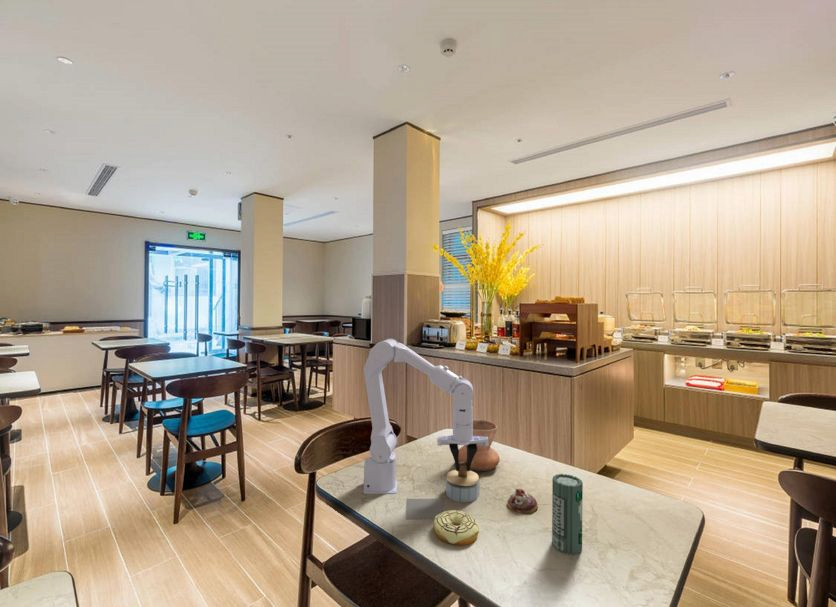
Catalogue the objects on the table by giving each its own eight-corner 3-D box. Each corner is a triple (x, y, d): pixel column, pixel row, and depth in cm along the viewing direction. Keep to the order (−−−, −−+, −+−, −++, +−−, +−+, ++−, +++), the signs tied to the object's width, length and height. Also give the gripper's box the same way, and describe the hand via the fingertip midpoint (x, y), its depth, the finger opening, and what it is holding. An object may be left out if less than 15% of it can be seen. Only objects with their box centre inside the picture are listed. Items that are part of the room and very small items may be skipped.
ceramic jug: (489, 481, 119) (490, 435, 119) (447, 469, 126) (448, 426, 126) (507, 461, 134) (508, 421, 134) (468, 452, 141) (469, 414, 142)
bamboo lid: (447, 485, 106) (447, 468, 106) (446, 472, 114) (446, 457, 115) (480, 486, 105) (480, 470, 105) (477, 473, 114) (477, 458, 114)
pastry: (505, 510, 102) (505, 492, 102) (509, 497, 109) (509, 480, 109) (536, 517, 99) (536, 498, 99) (538, 503, 106) (538, 485, 106)
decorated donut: (453, 555, 84) (453, 538, 84) (425, 531, 93) (425, 515, 93) (487, 538, 90) (487, 522, 90) (457, 517, 99) (457, 502, 99)
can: (587, 551, 85) (587, 484, 85) (564, 556, 84) (564, 488, 83) (569, 535, 91) (569, 472, 91) (547, 539, 89) (547, 475, 89)
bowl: (447, 503, 105) (447, 488, 105) (444, 486, 115) (444, 473, 115) (481, 503, 105) (481, 488, 105) (476, 486, 115) (476, 473, 115)
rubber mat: (405, 520, 97) (405, 519, 97) (406, 500, 107) (406, 498, 107) (445, 520, 97) (445, 518, 97) (442, 500, 107) (442, 498, 107)
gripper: (438, 427, 106) (438, 476, 106) (490, 427, 106) (490, 476, 106) (436, 419, 113) (436, 465, 113) (485, 419, 113) (485, 465, 113)
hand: (462, 469), depth 110 cm, fingers closed on bamboo lid, 2 cm apart
